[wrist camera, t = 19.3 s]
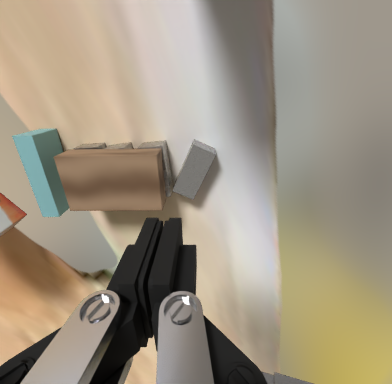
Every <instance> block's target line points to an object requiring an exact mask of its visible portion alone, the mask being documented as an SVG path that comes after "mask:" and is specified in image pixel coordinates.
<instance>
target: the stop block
mask: <svg viewBox="0 0 392 384" xmlns="http://www.w3.org/2000/svg"><path fill="white" fill-rule="evenodd" d="M12 137H13V139H14V142H15V145H16V148H17V150H18V153H19V155H20V158H21V161H22V163H23V166H24V168H25V171H26V174H27V176H28V179H29V182H30V184H31V187H32V189H33V192H34V195H35V197H36V200H37V203H38V205H39V208H40V210H41V213H42V216H43V217H54V216H55V217H59V216H61V215H62V214H63V213H64V212H65V211H66V210H67V209H68V208H69V205H68V201H67V198H66V195H65V192H64V189H63V186H62V182H61V179H60V176H59V173H58V170H57V167H56V164H55V160H54V156H56V155H58V154H61V153H63V149H62V146H61V142H60V139H59V135H58V132H57V129H38V130H34V131H30V132H26V133H22V134H18V135H15V136H12Z"/></svg>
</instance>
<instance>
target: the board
mask: <svg viewBox="0 0 392 384" xmlns="http://www.w3.org/2000/svg"><path fill="white" fill-rule="evenodd" d="M54 160H55V164H56V167H57V170H58V173H59V176H60V179H61V182H62V186H63V189H64V192H65V195H66V198H67V201H68V205H69V208H70V211H86V210H87V211H115V210H162V209H163V206H164V203H165V201H166V192H165V182H164V171H163V160H162V149H161V148H149V149H80V150H67V151H65V152H63V153H61V154H58V155H56V156H54Z"/></svg>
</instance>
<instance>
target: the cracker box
mask: <svg viewBox="0 0 392 384" xmlns="http://www.w3.org/2000/svg"><path fill="white" fill-rule="evenodd" d="M26 215H27V214H26V213H25V212H24V211H22V210H21V209H20V208H19V207H17V206H16V205H15V204H13V203H12V202H11V201H10V200H9V199H7V198H6V197H5V196H4V195H3V194H1V193H0V236H1V235H3V234H4V233H6V232H7V231H8V230H10V229H11V228H12V227H14V226H15V225H16V224H17V223H18V222H19V221H20V220H21V219H22V218H24V217H25V216H26Z"/></svg>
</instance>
